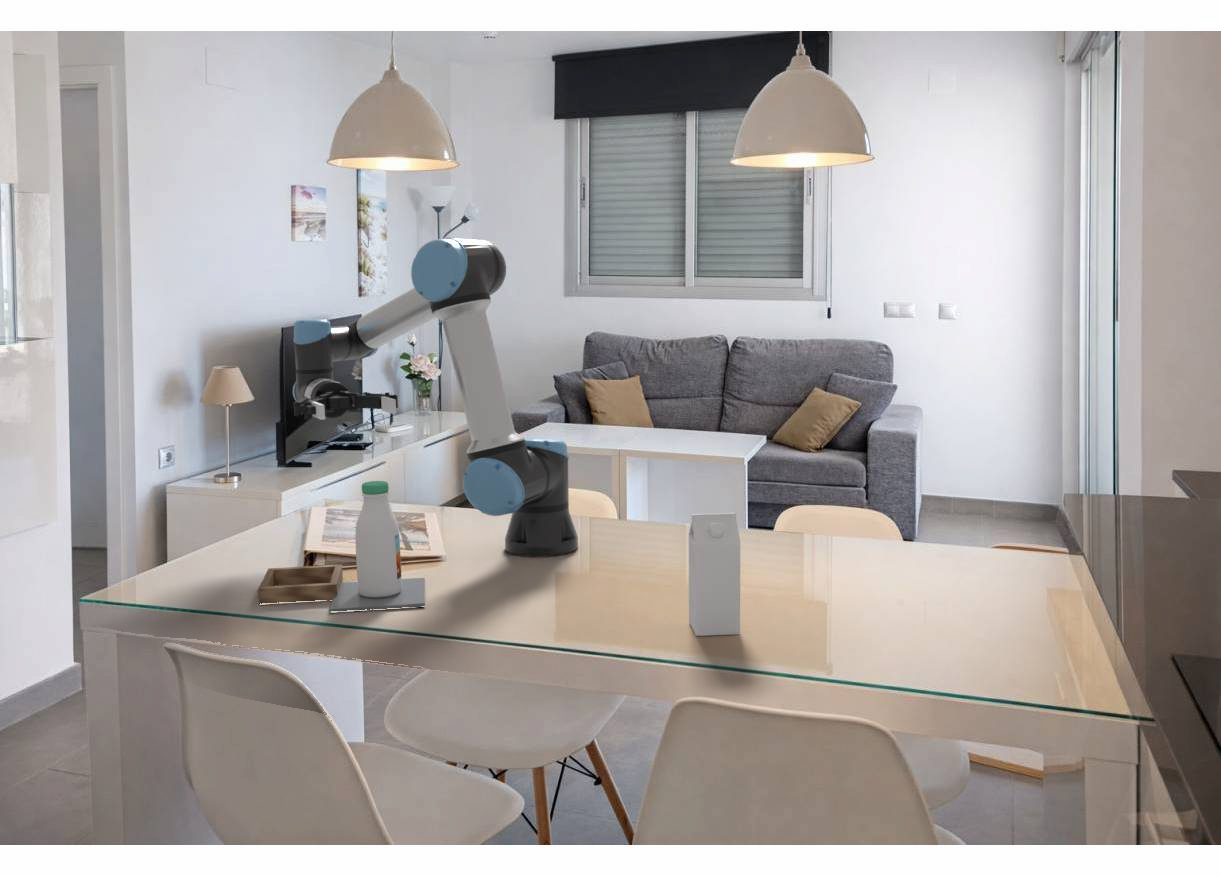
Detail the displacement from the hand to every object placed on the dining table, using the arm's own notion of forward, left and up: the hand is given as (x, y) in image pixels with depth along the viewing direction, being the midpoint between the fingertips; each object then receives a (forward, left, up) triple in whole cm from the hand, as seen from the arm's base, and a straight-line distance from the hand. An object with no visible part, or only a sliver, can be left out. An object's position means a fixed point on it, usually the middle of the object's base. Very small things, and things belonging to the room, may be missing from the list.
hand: (359, 409), depth 207 cm
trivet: (-3, +15, -32) cm, 35 cm away
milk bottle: (-3, +15, -31) cm, 35 cm away
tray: (+11, +9, -32) cm, 35 cm away
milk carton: (-57, +44, -32) cm, 79 cm away
